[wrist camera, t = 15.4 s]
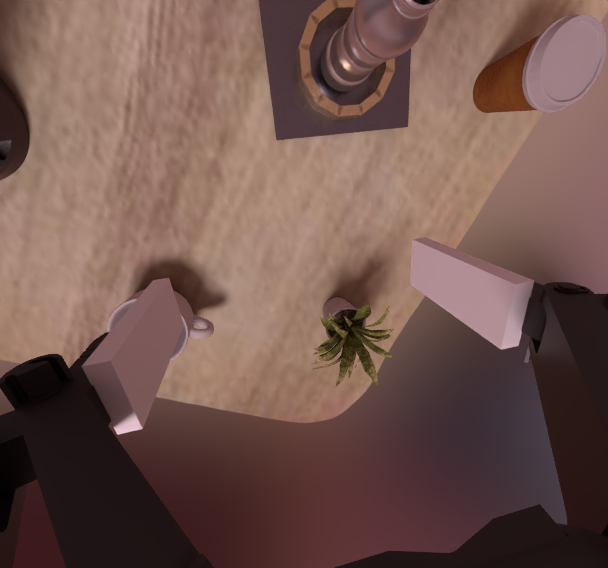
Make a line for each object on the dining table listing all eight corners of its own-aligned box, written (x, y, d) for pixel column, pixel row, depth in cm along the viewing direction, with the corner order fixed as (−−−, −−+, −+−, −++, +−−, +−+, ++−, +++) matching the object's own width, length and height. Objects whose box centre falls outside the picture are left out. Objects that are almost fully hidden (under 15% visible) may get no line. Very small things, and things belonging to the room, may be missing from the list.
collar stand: (276, 140, 41) (279, 137, 37) (258, -7, 34) (259, -25, 31) (405, 127, 43) (418, 123, 40) (410, -12, 37) (426, -29, 33)
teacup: (122, 328, 47) (100, 358, 40) (134, 270, 44) (111, 290, 37) (207, 345, 51) (200, 375, 44) (223, 293, 48) (219, 315, 41)
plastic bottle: (317, 35, 36) (386, -99, 18) (366, 39, 37) (478, -83, 19) (316, 94, 39) (376, 28, 21) (362, 96, 40) (458, 36, 22)
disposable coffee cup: (487, 137, 46) (562, 128, 35) (451, 97, 43) (521, 72, 32) (530, 81, 44) (623, 52, 33) (495, 34, 41) (586, -15, 30)
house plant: (308, 260, 48) (335, 301, 34) (379, 274, 52) (432, 316, 37) (290, 331, 53) (307, 395, 38) (356, 339, 57) (395, 400, 42)
